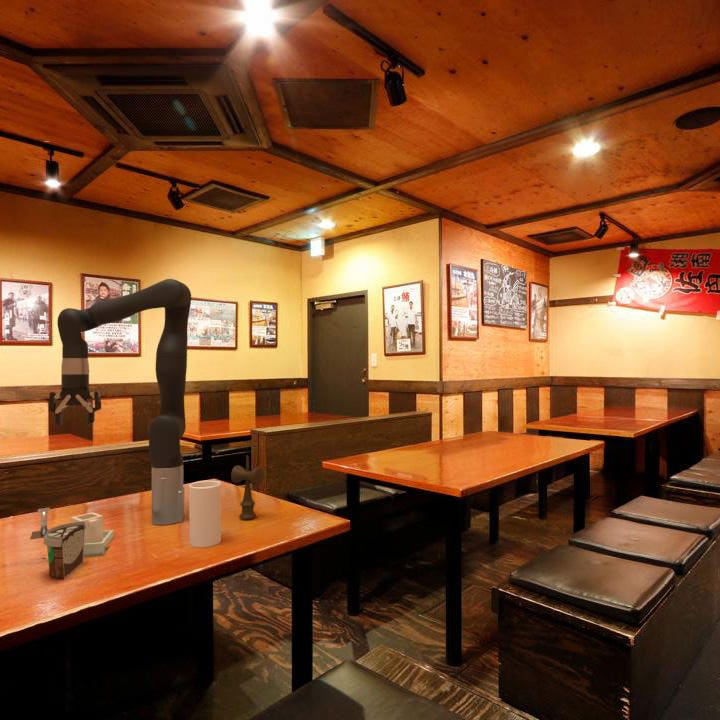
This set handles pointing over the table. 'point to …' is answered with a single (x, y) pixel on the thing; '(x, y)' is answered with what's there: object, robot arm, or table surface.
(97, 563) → the table surface
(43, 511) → the stake stand
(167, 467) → the robot arm
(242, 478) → the kendama
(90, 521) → the cream open box
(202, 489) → the cup
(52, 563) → the food container
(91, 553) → the tray
